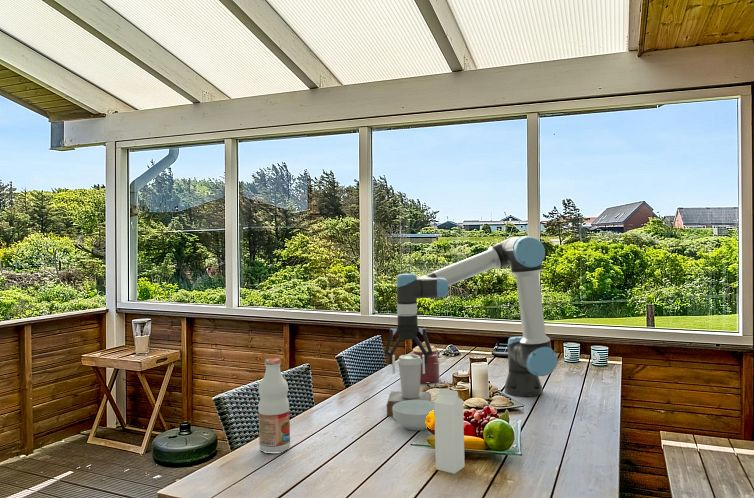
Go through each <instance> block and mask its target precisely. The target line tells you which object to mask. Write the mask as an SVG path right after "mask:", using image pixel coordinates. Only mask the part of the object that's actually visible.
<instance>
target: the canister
mask: <svg viewBox="0 0 754 498" xmlns="http://www.w3.org/2000/svg"><path fill="white" fill-rule="evenodd" d="M421 344H422V345H423V347H424V348H425V350H426V351H428V349H427V346H426V343H425V341H423V342H421ZM430 346H431V349H432V354H430V355H428V363H427V364H425V374H423V363H421V376H420V384H427V383H426V382H430V383H429V384H433V383H434V384H435V383H437V382H439V381H440V360H439V356H440V354H439V353H438V352H437V351H438V348H437V347H435V346H433V345H430ZM410 355H418V356H420V357H421V359H422V355H424V354H423V352H422V351H421V349H420V348H419V346H418V345H417V346H415V347H414V348H413V349H412V353H411V354H410Z"/></svg>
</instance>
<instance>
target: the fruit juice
mask: <svg viewBox="0 0 754 498" xmlns="http://www.w3.org/2000/svg"><path fill="white" fill-rule="evenodd" d="M281 362H282V361H281V358H276V357H275V358H273V357H272V358H265V360H264V366H265V372H264V376H263V378H262V379H261V381H260V383H259V384H258V394H259V402H258V426H259V427H258V431H259V432H258V433H259V435H258V436H259V437H258V438H259V450H260V449H261V450H263V451H266V452H282V451H285V450H287V449H288V448H289V447H290V448H291V426H290V425H291V424H290V422H291V421H290V404H289V403H290V401H289V399H288V391H289V385H288V382H287V380H286V379H285V378H284V377H283V375H282V371H281ZM290 448H289V449H290ZM289 449H288V450H289ZM261 450H260V451H261ZM288 450H287V451H288ZM285 452H286V451H285ZM282 453H283V452H282Z"/></svg>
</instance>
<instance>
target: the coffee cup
mask: <svg viewBox="0 0 754 498" xmlns="http://www.w3.org/2000/svg"><path fill="white" fill-rule="evenodd" d="M396 363H397V364H398V370H399V379H400V380H399V381H400V389H401V391H400V392H402V397H403V398H407V399H414V398H418V397H419V392H421V391H420V389H421V387H420V386H421V383H420V376H421V363H423V362H422V359H421V357H420V356H418V355H411V354H402V355H399V356H398V359H397V362H396Z"/></svg>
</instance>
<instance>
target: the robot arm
mask: <svg viewBox="0 0 754 498" xmlns="http://www.w3.org/2000/svg"><path fill="white" fill-rule="evenodd" d="M545 257H546V250H545V247H544V244H543V243H542V242H541V240H539V239H538V238H536V237H533V236H529V235H523V236H522V235H521V236H512V237H509V238H506V239H505V240H502V241H500V242H499V243H495V244H493V245H492V246H489V247H488V249H487V250H485V251H483V252H481V253H480V252H479V253H478V254H475V255H473V256H470V257H468V258H465V259H463V260H460V261H458V262H454V263H452V264H450V265H447V266H445V267H442V268H440V269H438V270H435V271H433V272H429V273H428V274H425V275H424V274H423V275H418V276H417V274H416V273H399V274H398V275H397V276H396V285H395V286H396V311H397V312H396V313H397V316H396V317H397V328H392V327H391V328H390V329H389V336H388V340H387V343H386V346H385V349H384V352H383V353H384V355H387V356H388V357H389V358H388V359H389V363H388V364H389V365H391V366H392V374H393V375H395V374H396V358H395V357H396V355H395V354H394V353H395V352H396V350H397V348H398V346H399V345H400V343H401V342H402V340H404V341H405V340H410V341H411V340H414V342H415V343H416V345H417V346H419V348H420V349H421V351H422V352H423V354H424V355H422V362H423V374H425V364H427V363H428V355H430V354H432V349H431V346H432V345H431V344H430V341H429V337H428V336H427V328H425V327H423V328H419V326H418V325H419V324H418V315H417V314H418V299H434V298H437V299H440V298H446V297H447V296H448V294H449V287H450V286H451V285H455V284H457V283H460V282H461V281H464V280H467V279H470V278H472V277H474V276H477V275H479V274H482V273H484V272H486V271H489V270H491V269H494V268H495V269H497V270H498V269H501V268H505V267H509V266H510V271H511V273H512V274H513V275H514V276H515V280H516V288H517V297H518V305H519V312H520V320H521V321H520V322H521V328H522V329H521V330H522V336H520V335H519V336H511V337H509V338H508V340H507V354H508V355H507V359H508V362H507V364H508V373H507V378H506V380H505V384H504V391H505V393H506V394H509V395H511V396H517V397H534V396H537V397H538V396H540V395H542V394H543V385H542V383H541V380H540V377H546V376H548V375H550V374H552V373H553V372H554V370H555V369H556V367H557V365H558V355H557V353H556V352H555V351H554V349H552V342H551V338H550V337H549V336H548V335H546V327H545V319H544V309H543V301H542V293H541V292H542V290H541V284H540V283H541V282H540V273H541V272H542V270H543V265H542V263H543V261H544V259H545ZM396 333H397V334H398V335H399V337H398V338H397V340H396V342H395V344H394V345H393V347H392V348H391V350H390V347H391V344H392V340H393V337H394V335H395V334H396ZM418 333H420V335H422V337H423V340H424V341H423V342H425V343H426V346H427V349H428V351H426V350H425V348H424V347H423V345H422V342H421V341H420V339H419V338H418V336H417V335H418Z"/></svg>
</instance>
